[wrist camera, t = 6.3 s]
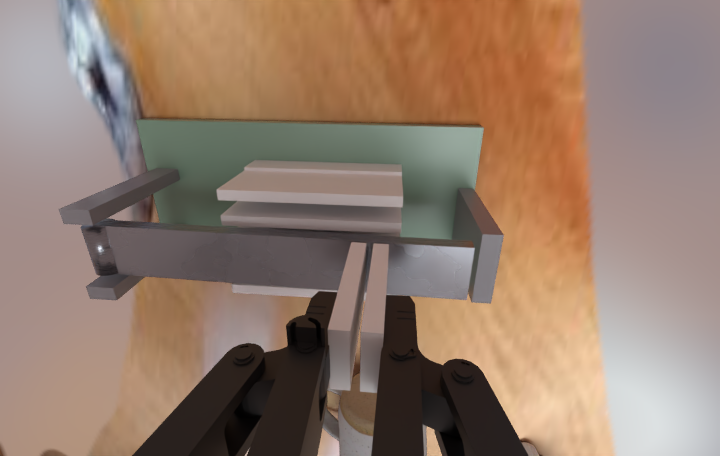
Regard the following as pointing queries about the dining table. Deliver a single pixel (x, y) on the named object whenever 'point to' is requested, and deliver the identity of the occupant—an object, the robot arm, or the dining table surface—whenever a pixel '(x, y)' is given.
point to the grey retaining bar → (274, 257)
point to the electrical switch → (530, 449)
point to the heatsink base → (308, 186)
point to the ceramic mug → (355, 421)
